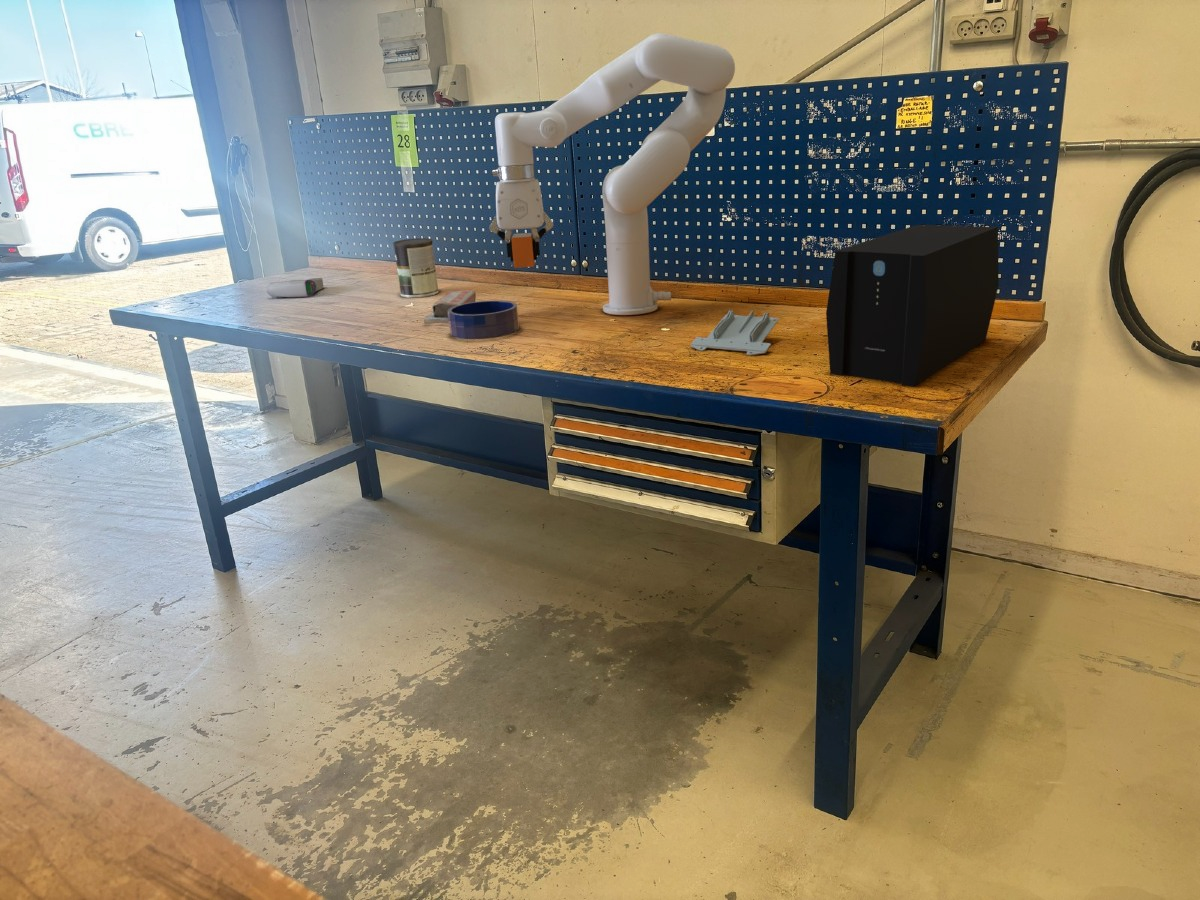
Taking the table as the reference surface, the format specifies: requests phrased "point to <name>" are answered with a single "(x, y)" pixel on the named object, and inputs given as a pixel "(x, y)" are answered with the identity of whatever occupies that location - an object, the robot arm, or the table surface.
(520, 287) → the table surface
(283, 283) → the infrared thermometer
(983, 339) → the uninterruptible power supply
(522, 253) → the carton
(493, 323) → the bowl
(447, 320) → the packaged product
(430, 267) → the coffee can
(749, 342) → the metal bracket
